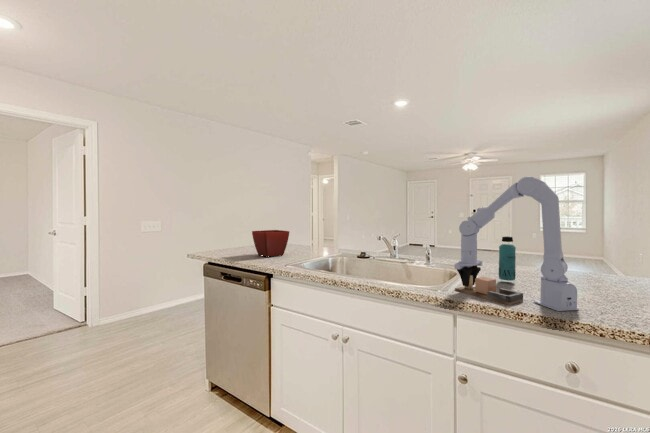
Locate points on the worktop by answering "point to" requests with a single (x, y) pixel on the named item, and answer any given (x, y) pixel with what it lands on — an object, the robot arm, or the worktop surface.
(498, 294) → the lane shelf
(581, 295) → the worktop surface
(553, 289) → the robot arm
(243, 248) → the worktop surface
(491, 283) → the clay block
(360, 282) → the worktop surface
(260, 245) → the plant pot
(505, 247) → the beverage bottle
